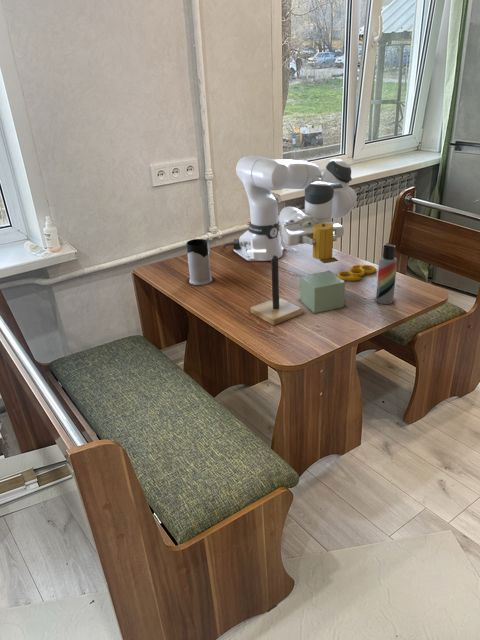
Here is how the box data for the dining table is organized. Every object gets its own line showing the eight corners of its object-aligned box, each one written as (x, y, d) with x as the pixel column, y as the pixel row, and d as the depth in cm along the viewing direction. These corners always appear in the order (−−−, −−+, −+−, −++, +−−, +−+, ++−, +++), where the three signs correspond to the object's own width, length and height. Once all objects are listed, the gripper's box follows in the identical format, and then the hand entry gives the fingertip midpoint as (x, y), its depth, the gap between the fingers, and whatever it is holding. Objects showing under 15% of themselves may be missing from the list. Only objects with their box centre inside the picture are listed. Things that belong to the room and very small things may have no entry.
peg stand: (250, 312, 176) (247, 255, 166) (278, 302, 183) (276, 246, 172) (273, 325, 168) (271, 265, 158) (301, 313, 174) (301, 255, 164)
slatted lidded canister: (309, 254, 173) (310, 222, 168) (326, 251, 175) (327, 219, 170) (322, 263, 166) (323, 230, 160) (339, 260, 168) (341, 227, 162)
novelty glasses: (330, 275, 201) (347, 283, 193) (331, 271, 200) (347, 280, 193) (365, 265, 208) (382, 273, 200) (365, 262, 207) (382, 270, 199)
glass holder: (185, 283, 199) (180, 245, 192) (201, 269, 211) (198, 232, 203) (206, 286, 196) (202, 247, 189) (221, 271, 208) (218, 234, 200)
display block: (300, 300, 183) (300, 276, 178) (328, 294, 186) (329, 270, 182) (314, 313, 174) (314, 288, 170) (343, 306, 178) (345, 282, 173)
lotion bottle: (372, 299, 182) (377, 243, 171) (386, 295, 183) (391, 240, 173) (382, 305, 177) (387, 248, 167) (396, 302, 179) (402, 245, 169)
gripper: (332, 232, 184) (352, 245, 173) (278, 242, 178) (295, 255, 167) (332, 214, 181) (353, 226, 170) (277, 223, 175) (295, 235, 163)
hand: (324, 240), depth 168 cm, fingers closed on slatted lidded canister, 6 cm apart
